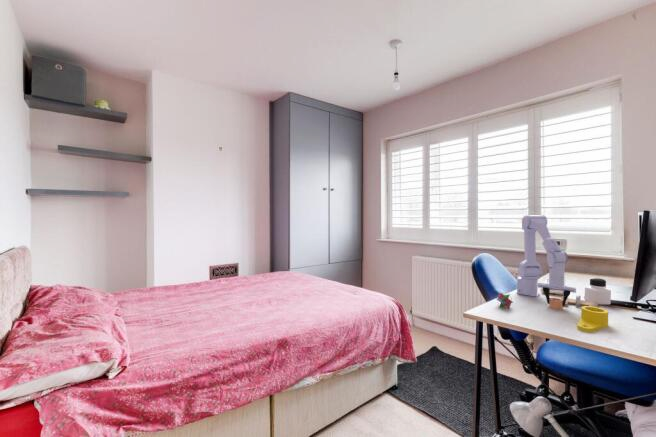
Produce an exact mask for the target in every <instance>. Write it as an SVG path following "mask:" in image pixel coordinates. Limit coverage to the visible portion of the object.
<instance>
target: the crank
mask: <svg viewBox="0 0 656 437" xmlns="http://www.w3.org/2000/svg"><path fill="white" fill-rule="evenodd" d="M580 311H581V312H580V319H579V321H578V322H577V325H576V326H577V327H576V329H577V330H578V331H580V332H581V331H582V332H585V333H593V332H597V331H599V330H603V329H604V328H607V327H609V311H608V310H607V309H604V308H602V307H599V306H598V307H592V306H581V308H580Z"/></svg>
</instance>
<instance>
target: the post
mask: <svg viewBox="0 0 656 437" xmlns="http://www.w3.org/2000/svg"><path fill="white" fill-rule="evenodd" d="M581 297H582V296H581V295H576V296H575V298H576V305H573V306H574V307H575V308H577V309H581V307H582V306H580V300H582V299H581Z"/></svg>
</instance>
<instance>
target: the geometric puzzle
mask: <svg viewBox="0 0 656 437" xmlns="http://www.w3.org/2000/svg"><path fill="white" fill-rule="evenodd" d="M510 297H511V294H504V293H502V292H499V293H498V295H497V298H496V302H497V301H498V302H497V303H498V304H499V305H498V307H500V308H502V307H505V308H506V309H510V308H511V306H512V304H513V303H514V301H513V300H512V298H511V299H509V298H510ZM499 302H500V303H499Z"/></svg>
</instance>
